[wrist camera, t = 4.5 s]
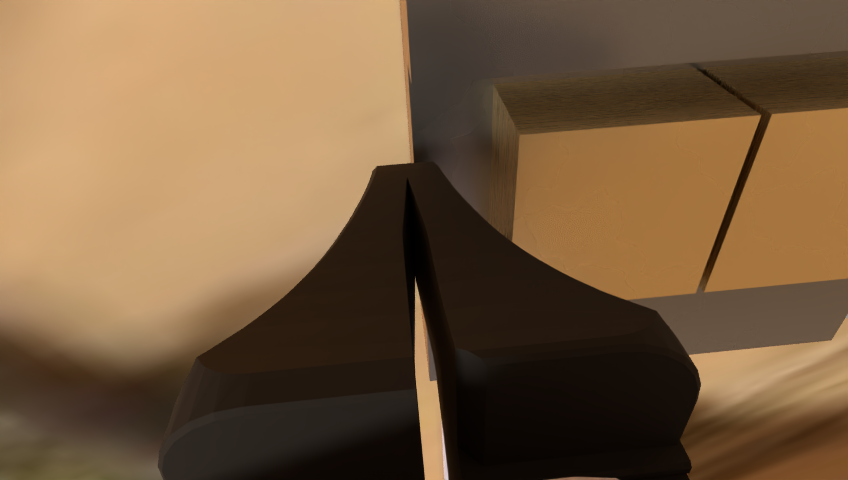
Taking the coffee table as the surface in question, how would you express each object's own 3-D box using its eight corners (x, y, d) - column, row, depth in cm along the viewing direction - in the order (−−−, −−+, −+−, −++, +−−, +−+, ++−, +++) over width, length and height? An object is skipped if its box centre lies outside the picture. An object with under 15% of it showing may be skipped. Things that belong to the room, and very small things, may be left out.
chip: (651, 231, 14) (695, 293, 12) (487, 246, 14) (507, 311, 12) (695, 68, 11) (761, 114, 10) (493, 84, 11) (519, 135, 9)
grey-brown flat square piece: (766, 270, 18) (831, 340, 16) (420, 302, 18) (429, 381, 15) (971, -170, 11) (1153, -170, 8) (390, -134, 10) (398, -124, 8)
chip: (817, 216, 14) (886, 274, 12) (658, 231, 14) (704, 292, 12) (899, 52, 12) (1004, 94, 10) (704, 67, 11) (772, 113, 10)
